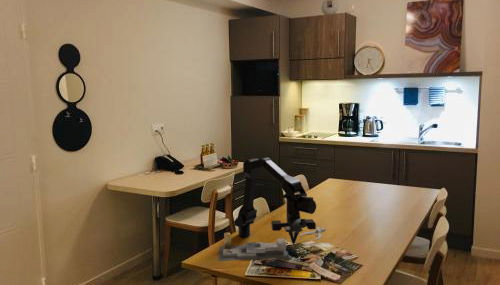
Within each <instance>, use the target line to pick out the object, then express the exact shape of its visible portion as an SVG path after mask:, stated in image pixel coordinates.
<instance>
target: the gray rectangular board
mask: <svg viewBox="0 0 500 285" xmlns="http://www.w3.org/2000/svg"><path fill="white" fill-rule="evenodd" d="M237 247H246V244H244V245H243V244H242V245H238V244H237V245H231V249H237ZM255 248H260V247H255ZM223 249H225V245H220V246H219V248H218V258H217V259H218V260H217V261H219V262H223V261H225V262H226V261H227V262H228V261H229V262H230V261H247V260H249V261H250V260H268V259H269V260H270V259H275V260H276V259H290V256H289V251H288V250H287V251H284V255H263V256H258V253H256V257H250V258H237V257H223ZM241 253H243V252H241Z"/></svg>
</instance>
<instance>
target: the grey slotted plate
mask: <svg viewBox="0 0 500 285" xmlns="http://www.w3.org/2000/svg"><path fill="white" fill-rule="evenodd" d="M252 248H255V247H252ZM241 252H243V253H241ZM263 255H284V251H265V253H258V256H263ZM223 257H237V258H250V257H256V253H247V252H246V247H237V249H223Z"/></svg>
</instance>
